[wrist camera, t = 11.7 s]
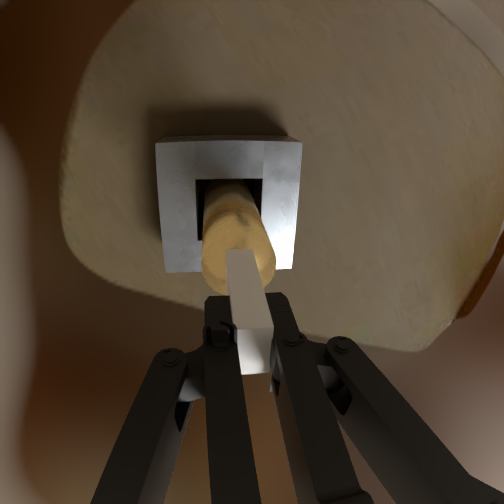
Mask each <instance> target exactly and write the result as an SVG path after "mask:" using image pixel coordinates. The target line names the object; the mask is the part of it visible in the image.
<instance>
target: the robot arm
mask: <svg viewBox="0 0 504 504" xmlns="http://www.w3.org/2000/svg"><path fill="white" fill-rule="evenodd" d="M226 294H227V296H209V297H208V298H207V300H206V301H205V326H204V328H203V340H204V343H203V344H202V345H201V347H199V348H198V349H197V350H194V351H192V352H188V353H184V352H183V351H181V350H179V349H176V348H168V349H163V350H161V351H160V352H158V353H157V354H156V355H155V357H154V359H153V361H152V363H151V365H150V367H149V369H148V371H147V374H146V376H145V378H144V380H143V382H142V384H141V386H140V389H139V391H138V393H137V395H136V397H135V400H134V402H133V404H132V406H131V408H130V411H129V413H128V415H127V417H126V420H125V422H124V424H123V426H122V429H121V431H120V433H119V436H118V438H117V440H116V443H115V445H114V447H113V450H112V452H111V454H110V457H109V459H108V461H107V464H106V466H105V469H104V471H103V473H102V476H101V478H100V481H99V483H98V486H97V488H96V491H95V493H94V496H93V498H92V501H91V503H90V504H163V503H164V500H165V496H166V493H167V490H168V486H169V483H170V479H171V476H172V472H173V469H174V465H175V462H176V459H177V456H178V452H179V449H180V446H181V442H182V439H183V435H184V432H185V429H186V425H187V422H188V419H189V415H190V412H191V408H192V406H193V402H194V400H195V399H199V398H202V397H205V399H206V400H205V401H206V424H207V442H208V443H207V445H208V460H209V476H210V489H211V501H212V504H261V498H260V492H259V487H258V480H257V474H256V468H255V462H254V456H253V450H252V443H251V436H250V430H249V423H248V416H247V410H246V403H245V396H244V389H243V382H242V375H241V374H255V373H267V372H269V369H270V368H271V372H272V375H271V384H270V392H272V390H273V393H274V398H275V402H276V407H277V412H278V416H279V420H280V425H281V430H282V434H283V439H284V443H285V447H286V452H287V457H288V461H289V466H290V470H291V475H292V479H293V484H294V488H295V493H296V497H297V501H298V504H374V502H373V500H372V498H371V496H370V495H369V493H367V492H366V491H364V490H362V489H361V487H360V485H359V482H358V479H357V477H356V474H355V471H354V468H353V465H352V462H351V460H350V456H349V453H348V450H347V448H346V445H345V442H344V439H343V436H342V433H341V430H340V428H339V425H338V422H339V423H340V425H341V426H342V428H343V429H344V430H345V432H346V433H347V435H348V436H349V438H350V439H351V441H352V442H353V443H354V445H355V446H356V448H357V449H358V451H359V452H360V453H361V455H362V456H363V458H364V459H365V460H366V462H367V463H368V465H369V466H370V468H371V469H372V470H373V472H374V473H375V475H376V476H377V477H378V479H379V480H380V481H381V483H382V484H383V486H384V487H385V489H386V490H387V491H388V493H389V494H390V496H391V497H392V498H393V500H394V501H395V502H396V504H504V493H502V492H500V491H499V490H496V489H495V488H493V487H491V486H489V485H487V484H485V483H483V482H482V481H480V480H478V479H476V478H474V477H472V476H471V475H469V474H468V472H467V471H466V470H465V469H464V468H463V467H462V465H461V464H460V463H459V462H458V461H457V459H456V458H455V457H454V456H453V455H452V453H451V452H450V451H449V450H448V449H447V448H446V447H445V445H444V444H443V443H442V442H441V441H440V439H439V438H438V437H437V436H436V435H435V434H434V432H433V431H432V430H431V429H430V428H429V426H428V425H427V424H426V423H425V422H424V421H423V420H422V418H421V417H420V416H419V415H418V414H417V413H416V412H415V410H414V409H413V408H412V407H411V406H410V404H409V403H408V402H407V401H406V400H405V399H404V398H403V396H402V395H401V394H400V393H399V392H398V391H397V390H396V388H395V387H394V386H393V385H392V384H391V383H390V382H389V380H388V379H387V378H386V377H385V376H384V375H383V374H382V372H381V371H380V370H379V369H378V368H377V367H376V366H375V364H374V363H373V362H372V361H371V360H370V359H369V358H368V357H367V356H366V354H365V353H364V352H363V351H362V350H361V349H360V348H359V346H358V345H357V344H356V343H355V342H354V341H353V340H351V339H349V338H347V337H342V336H337V337H333V338H331V339H329V341H328V342H327V344H323V343H316V342H312V341H309V340H307V338H306V337H305V335H304V334H302V333H301V332H300V331H299V329H298V326H297V323H296V320H295V318H294V315H293V312H292V310H291V307H290V304H289V301H288V299H287V297H286V296H284V295H283V294H282V293H281V292H276V293H265V292H264V289H263V285H262V281H261V278H260V274H259V270H258V267H257V263H256V259H255V256H254V252H253V249H226ZM337 420H338V422H337Z"/></svg>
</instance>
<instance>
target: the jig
mask: <svg viewBox="0 0 504 504" xmlns="http://www.w3.org/2000/svg"><path fill="white" fill-rule="evenodd" d="M155 150H156V170H157V187H158V201H159V213H160V224H161V235H162V244H163V253H164V262H165V270H166V273H170V272H202V268H201V261H202V238H203V222H199V205H198V179H238V178H255V198H254V203H255V205H256V207H257V210H258V212H259V215H260V217H261V220H262V222H263V225H264V227H265V229H266V232H267V234H268V237H269V239H270V242H271V244H272V247H273V249H274V252H275V255H276V260H277V265H276V269H287V268H292V259H293V249H294V239H295V229H296V218H297V207H298V195H299V183H300V170H301V156H302V142H301V141H298V140H296V139H294V138H292V137H290V136H275V135H192V136H170V137H163V138H161V139H160V140H159V141H158V142H156V143H155Z"/></svg>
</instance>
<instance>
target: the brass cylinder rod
mask: <svg viewBox="0 0 504 504" xmlns="http://www.w3.org/2000/svg"><path fill="white" fill-rule="evenodd" d="M226 249H253V252H254V256H255V259H256V263H257V267H258V270H259V274H260V278H261V281H262V285H263V288H264V287H265V286H266V285H267V284H268V283H269V282H270V281H271V279H272V277H273V275H274V273H275V270H276V265H277V260H276V255H275V252H274V249H273V247H272V244H271V242H270V239H269V237H268V234H267V232H266V229H265V227H264V225H263V222H262V220H261V217H260V215H259V212H258V210H257V207H256V205H255V203H254V200H253V198H252V195H251V193H250V190H249V188H248V186H247V184H246V182H245V181H244V180H243V179H242V178H238V179H212V180H211V181H210V182H209V184H208V185H207V187H206V190H205V202H204V219H203V238H202V261H201V268H202V274H203V276H204V279H205V280H206V282H207V283H208V285H209V286H210V287H211V288H213V289H214V290H215V291H217V292H219V293H221V294H223V295H227V294H226Z"/></svg>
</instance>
